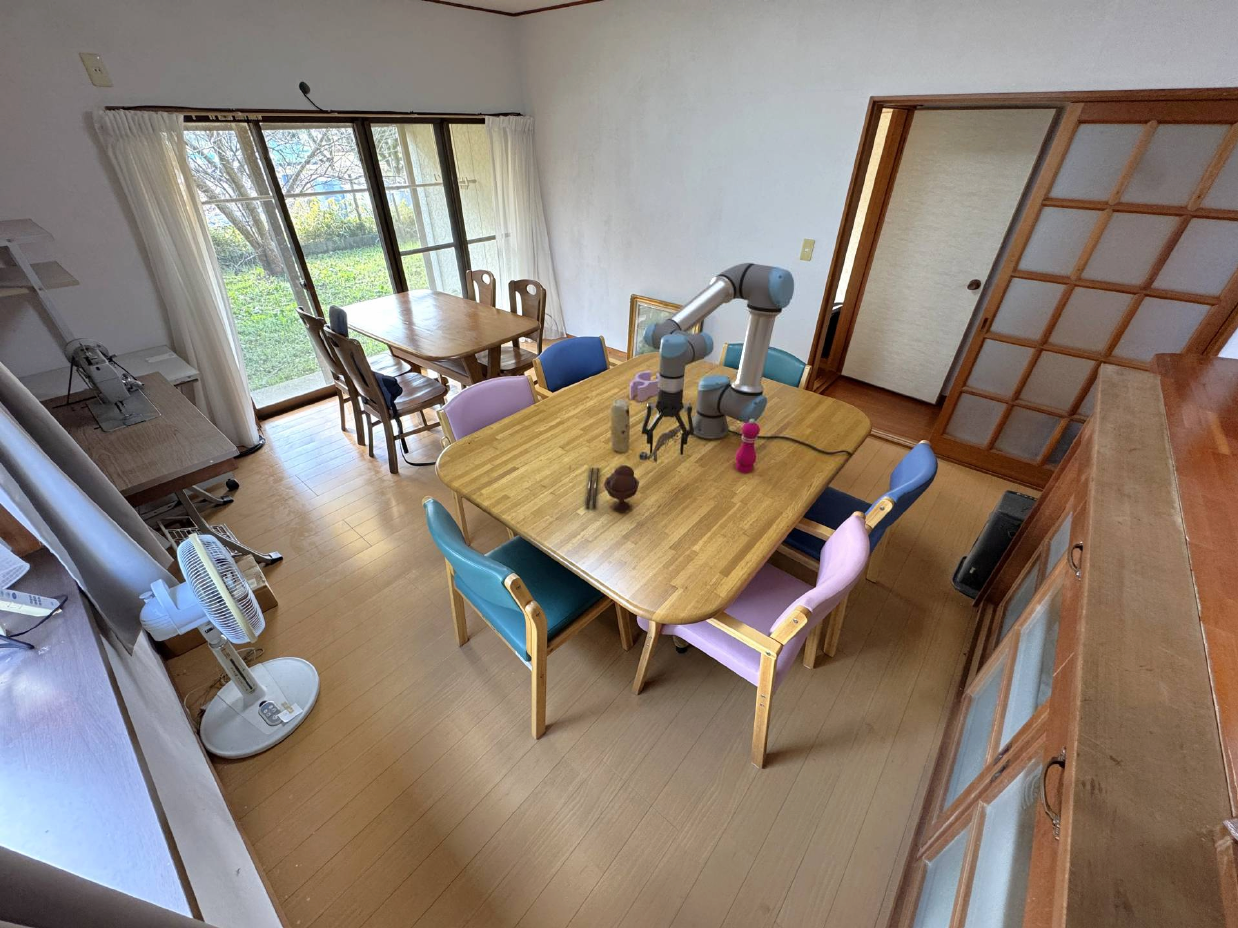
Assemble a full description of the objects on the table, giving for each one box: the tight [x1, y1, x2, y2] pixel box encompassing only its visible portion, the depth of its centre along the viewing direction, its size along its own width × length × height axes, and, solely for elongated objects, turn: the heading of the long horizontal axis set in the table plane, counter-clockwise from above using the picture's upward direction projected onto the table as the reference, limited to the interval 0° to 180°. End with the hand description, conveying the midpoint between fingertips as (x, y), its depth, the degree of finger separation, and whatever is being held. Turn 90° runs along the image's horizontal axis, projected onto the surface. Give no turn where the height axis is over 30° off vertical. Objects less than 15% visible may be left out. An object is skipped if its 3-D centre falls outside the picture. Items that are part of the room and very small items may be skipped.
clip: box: [629, 369, 659, 402], centre depth 225 cm, size 20×12×7 cm, turn 148°
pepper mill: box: [734, 419, 761, 474], centre depth 168 cm, size 7×7×20 cm
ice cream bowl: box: [603, 464, 640, 513], centre depth 151 cm, size 11×11×15 cm
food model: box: [610, 397, 631, 453], centre depth 180 cm, size 10×7×20 cm
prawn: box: [638, 424, 682, 464], centre depth 153 cm, size 25×12×7 cm, turn 143°
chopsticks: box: [585, 467, 599, 510], centre depth 164 cm, size 3×23×1 cm, turn 179°
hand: (666, 452), depth 155 cm, fingers closed on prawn, 9 cm apart
